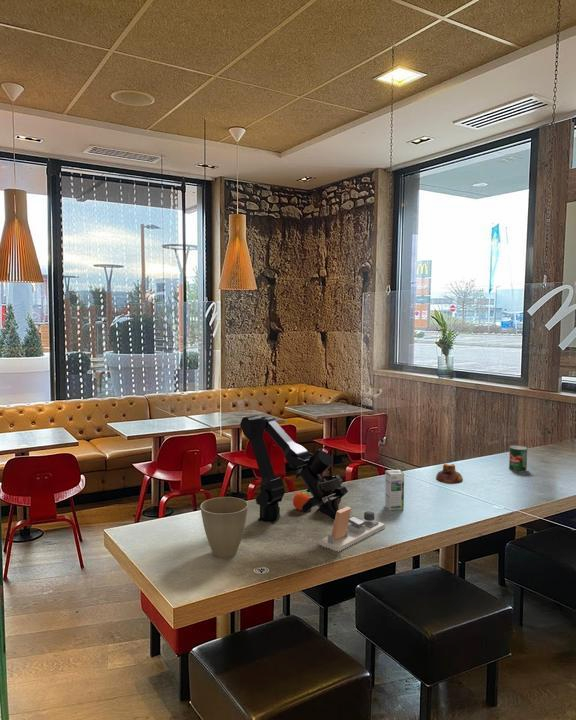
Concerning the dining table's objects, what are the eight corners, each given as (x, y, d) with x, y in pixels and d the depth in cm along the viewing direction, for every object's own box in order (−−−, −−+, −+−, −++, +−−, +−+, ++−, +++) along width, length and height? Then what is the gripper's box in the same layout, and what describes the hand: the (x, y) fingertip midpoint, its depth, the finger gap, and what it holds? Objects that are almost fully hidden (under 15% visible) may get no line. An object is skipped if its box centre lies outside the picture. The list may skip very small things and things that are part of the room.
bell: (431, 480, 258) (431, 464, 257) (443, 474, 267) (443, 459, 266) (455, 485, 251) (456, 469, 250) (467, 479, 260) (467, 463, 259)
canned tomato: (526, 468, 276) (527, 446, 275) (526, 472, 269) (527, 450, 268) (509, 466, 280) (510, 444, 279) (508, 470, 273) (509, 448, 271)
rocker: (348, 522, 196) (348, 519, 195) (353, 520, 198) (353, 516, 198) (358, 528, 193) (359, 524, 193) (363, 525, 195) (364, 522, 195)
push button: (362, 518, 201) (362, 513, 201) (367, 516, 204) (367, 510, 204) (370, 521, 199) (370, 515, 198) (376, 518, 201) (376, 513, 201)
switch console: (319, 545, 187) (319, 533, 187) (366, 522, 207) (366, 511, 207) (338, 552, 182) (338, 540, 182) (384, 528, 202) (385, 517, 201)
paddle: (330, 540, 187) (336, 511, 184) (341, 534, 191) (347, 506, 188) (333, 542, 186) (340, 513, 183) (344, 536, 190) (351, 508, 187)
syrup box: (389, 510, 219) (390, 473, 218) (384, 505, 225) (385, 469, 223) (403, 510, 220) (404, 473, 218) (398, 504, 226) (399, 468, 224)
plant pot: (192, 550, 183) (192, 502, 181) (233, 540, 191) (233, 493, 190) (214, 568, 171) (214, 517, 169) (257, 556, 179) (256, 506, 177)
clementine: (310, 505, 224) (310, 488, 223) (315, 512, 217) (315, 494, 217) (290, 507, 222) (290, 489, 222) (294, 513, 216) (295, 495, 215)
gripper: (309, 474, 182) (335, 516, 176) (344, 463, 196) (370, 501, 190) (290, 493, 189) (315, 534, 182) (325, 480, 202) (350, 518, 196)
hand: (339, 521), depth 187 cm, fingers closed, pressing on paddle
